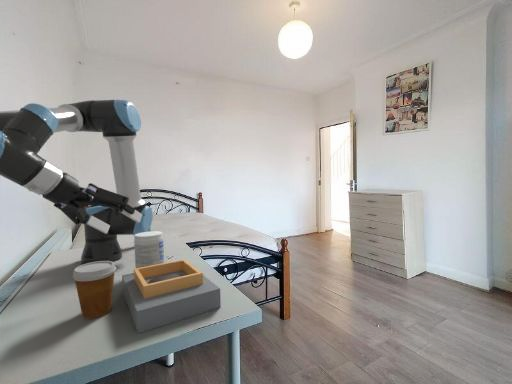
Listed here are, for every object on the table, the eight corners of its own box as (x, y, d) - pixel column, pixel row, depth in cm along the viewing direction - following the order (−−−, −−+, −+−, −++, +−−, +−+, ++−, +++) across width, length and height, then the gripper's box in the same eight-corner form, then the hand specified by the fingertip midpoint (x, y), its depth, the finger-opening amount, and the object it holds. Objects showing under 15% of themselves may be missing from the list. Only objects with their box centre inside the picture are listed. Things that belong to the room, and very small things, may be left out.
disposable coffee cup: (70, 326, 60) (67, 275, 59) (79, 307, 69) (76, 263, 68) (116, 317, 64) (114, 269, 63) (119, 300, 73) (117, 258, 72)
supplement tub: (167, 275, 91) (166, 234, 90) (138, 281, 86) (136, 237, 85) (160, 267, 99) (159, 229, 98) (133, 273, 94) (131, 233, 93)
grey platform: (121, 286, 82) (119, 262, 81) (183, 273, 93) (182, 251, 93) (138, 333, 57) (136, 297, 57) (220, 307, 68) (219, 277, 68)
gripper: (14, 209, 65) (90, 244, 80) (79, 179, 56) (151, 225, 71) (30, 186, 70) (100, 223, 84) (92, 155, 61) (158, 202, 75)
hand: (123, 224), depth 78 cm, fingers open, 13 cm apart
